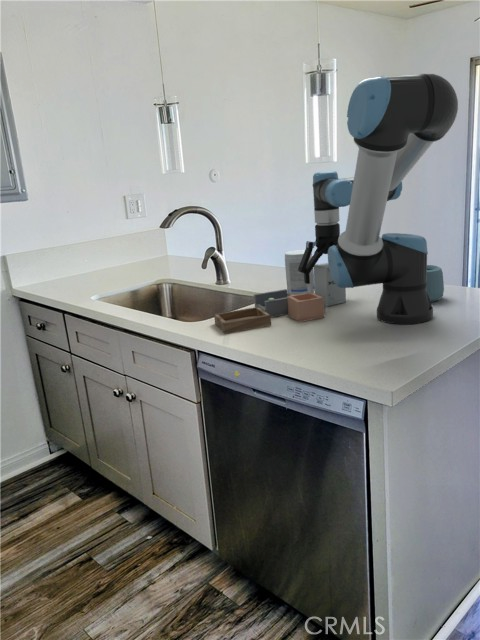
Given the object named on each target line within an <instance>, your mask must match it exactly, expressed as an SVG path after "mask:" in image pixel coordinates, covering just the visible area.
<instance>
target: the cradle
mask: <svg viewBox="0 0 480 640" xmlns="http://www.w3.org/2000/svg"><path fill="white" fill-rule="evenodd" d="M292 295H295V294H292ZM292 295H289V294H288V292H287V288H286V289H279V290H274V291H266V292H260V293H259V292H258V293H254V294H253V299H254V301H253V302H254V307H259V308H261V309H262V310H264V311H265V312H267V313H268V314H269V315H271V318H273V317H279V316H280V317H281V316H284V315H285V316H286V315H289V313H288V298H287V296H292Z"/></svg>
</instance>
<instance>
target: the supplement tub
mask: <svg viewBox="0 0 480 640" xmlns="http://www.w3.org/2000/svg"><path fill="white" fill-rule="evenodd" d="M305 250H306V249H295V250H289V251H286V252H285V253H284V265H285V268H284V269H285V279H286V290H287V295H288V296H290V295H292V294H295V295H298V294H304V293H308V291H307V284H306V283H305V282H304V273H301V272H299V271H298V268H299V265H300V263H301V260H302V257H303V255H304V252H305ZM312 256H313V252H312V253H311V256H310V258H309V261H310V259H311V258H312ZM309 261H308V262H309ZM307 264H308V263H307ZM310 273H312V278H313V293H315V288H314V268H313V269H312V270H311V272H310Z"/></svg>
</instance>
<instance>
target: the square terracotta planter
mask: <svg viewBox="0 0 480 640" xmlns="http://www.w3.org/2000/svg"><path fill="white" fill-rule="evenodd" d="M287 298H288V313H289V314H288V316H289V317H290V318H292V319H294V320H295V321H297V322H298V323H301V322H307V321H313V320H318V319H322V318H325V305H324V301H323V297H321V296H319V295H317V294H315V292H313V293H312V292H310V293H304V294H298V295H292V296H290V295H288V296H287Z"/></svg>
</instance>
